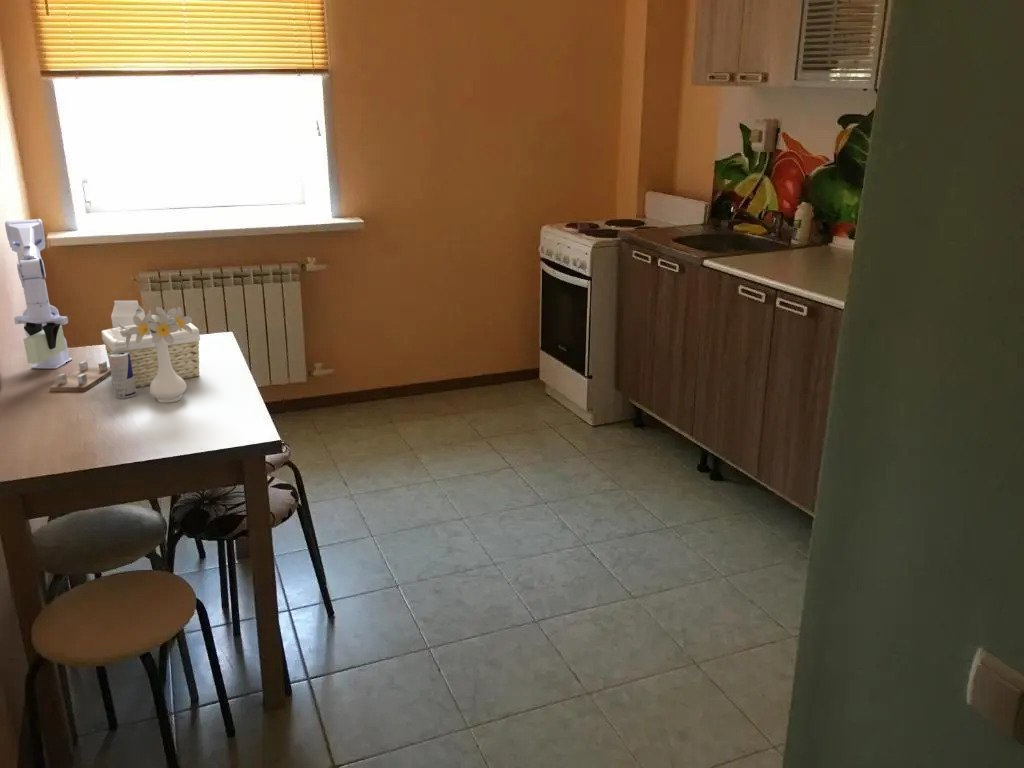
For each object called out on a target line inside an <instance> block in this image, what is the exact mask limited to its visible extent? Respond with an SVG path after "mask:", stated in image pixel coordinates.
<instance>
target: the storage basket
mask: <svg viewBox="0 0 1024 768" xmlns="http://www.w3.org/2000/svg"><path fill="white" fill-rule="evenodd" d="M186 325H188V326H189V327H190V328H191V329H192V331H193V333H190V332H188V331H186V330H185V329H183V330H182V331H180V330H178V331H176V332H173V333H170V334H171V335H172V337H173V340H174V342H173V343H172V344H169V343H168V350H169V356H170V361H171V365H172V368H173V369H174V371H175V373H176V374H177V375H178V376H180V377H181V378H182V379H183V380H184V379H190V378H194V377H198V376H200V357H199V356H200V341H201V336H200V330H199V328H198V327H196V326H195V325H194V324H193V323H192V322H191V323H189V324H186ZM124 327H126V328H127V329H130V328H132V327H138V326H136V325H132V326H124ZM120 330H122V329H121V327H118V328H113V327H112V328H107V329H103V330H101V339H102V341H103V344H104V345H105V351H106V355H107V359H108V360H109V354H111V353H114V352H120V351H126V352H129V355H130V358H131V365H132V371H133V377H134V383H135V388H138V387H143V386H150V384H151V382H152V381H153V379H154V378H155V377H156V375H157V371H158V359H157V350H156V345H155V343H153V342H152V335H151V333H150V335H144V336H143V338H142V340H141V341H140V342H139V343H136V336H137V335H136V334H134V335H131V338H130V341H129V346H128V348H127V345H126V337H123V336H122V335H121V333H120Z"/></svg>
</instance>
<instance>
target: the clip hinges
mask: <svg viewBox="0 0 1024 768" xmlns="http://www.w3.org/2000/svg"><path fill="white" fill-rule="evenodd" d="M78 366H79V367H78V368H79V369H80V372H84V371H86V370H88V367H89V364H88V361H87V360H82V361H81V362H79V363H78ZM97 366H98V367H99V371H100V372H104V371H106V370H107V369H108V368H107V367H108V364H107V361H106V360H102V361H100V362H98V364H97ZM56 378H57V382H58V384H59V385H63V384H65V383H67V373H60V374H59V375H57V376H56ZM77 378H78V383H79V385H84V384H85V383H87V377H86V374H81V375H79V376H77Z"/></svg>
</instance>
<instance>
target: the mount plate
mask: <svg viewBox="0 0 1024 768" xmlns="http://www.w3.org/2000/svg"><path fill="white" fill-rule="evenodd" d="M107 368H108V369H107V370H106V371H104V372H100V371H99V366H88V370H86V371H84V372H80V368H79V369H77V370H75V371H74V372H72V373H70V374H68V375H66V377H67V383H65V384H63V385H59V384H58V381H57V382H55V383H54V384H52V385H51V386H49V391H50V392H83V391H85V392H87V391H88V390H90V389H91V388H93V387H94V386H96V385H97V384H99V383H100V382H99V381H101V380H102V381H103V379H104V378H105V379H107V378H108V377H109V375H110V374H111V370H110V366H107ZM81 374H86V377H87V383H85V384H84V385H79V383H78V378H77V376H79V375H81ZM107 376H108V377H107ZM110 376H111V375H110ZM106 377H107V378H106ZM105 379H104V380H105ZM102 381H101V382H102ZM98 382H99V383H98ZM96 383H97V384H96ZM95 384H96V385H95ZM92 386H93V387H92ZM90 387H91V388H90ZM89 388H90V389H89ZM86 390H87V391H86Z"/></svg>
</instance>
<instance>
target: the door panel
mask: <svg viewBox="0 0 1024 768" xmlns="http://www.w3.org/2000/svg"><path fill="white" fill-rule="evenodd" d="M64 335H65V334H64V331H63V325H62V326H60V327H59V330H58V333H57V338H56V347H55V348H53V349H49V346H48V341H47V337H46V335H45V332H44V330H42V331H40V332H38V333H36V334H34V335H32V336H29V337H27V336H26V337H25V338H23V345H24V350H25V354H26V359H27V363H28V364H34V365H35V364H39V363H41V362H43V361H44V360H46V359H48V358H50V357H52V356H54V355H56V354H58V353H60V352H61V351H63V350H65V349H66V345H65V340H64V337H65V336H64Z"/></svg>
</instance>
